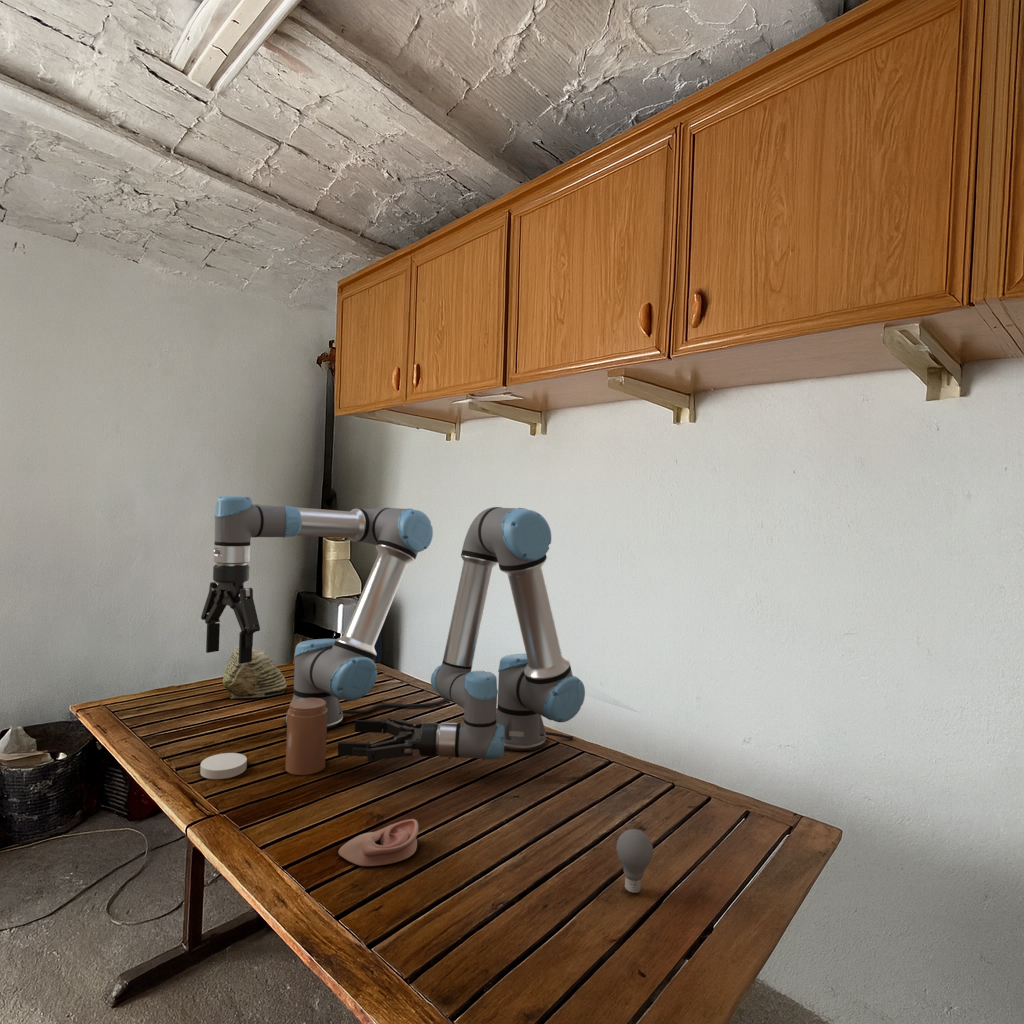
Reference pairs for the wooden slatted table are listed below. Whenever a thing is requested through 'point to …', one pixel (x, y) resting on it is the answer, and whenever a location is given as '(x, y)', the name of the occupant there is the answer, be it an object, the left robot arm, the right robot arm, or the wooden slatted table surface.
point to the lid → (223, 766)
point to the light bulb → (634, 857)
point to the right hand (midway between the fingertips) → (347, 736)
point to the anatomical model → (382, 845)
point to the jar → (306, 736)
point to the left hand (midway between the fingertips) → (228, 657)
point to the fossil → (253, 676)
